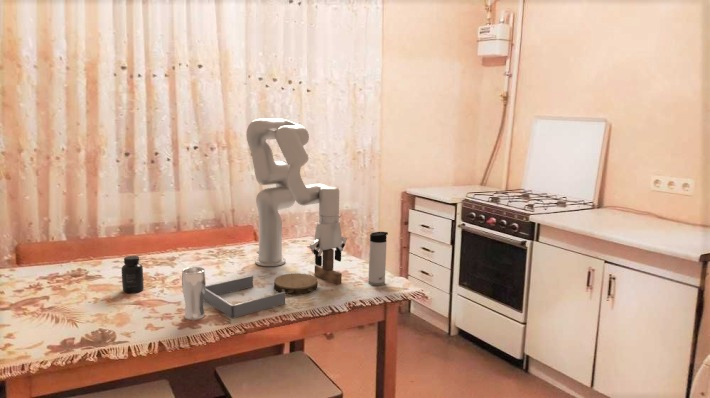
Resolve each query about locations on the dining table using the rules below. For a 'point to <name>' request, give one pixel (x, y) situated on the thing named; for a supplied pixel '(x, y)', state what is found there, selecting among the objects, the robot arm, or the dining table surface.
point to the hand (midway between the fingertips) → (328, 262)
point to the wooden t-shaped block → (328, 268)
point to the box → (243, 307)
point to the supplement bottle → (132, 275)
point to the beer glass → (193, 292)
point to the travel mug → (377, 258)
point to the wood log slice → (295, 284)
